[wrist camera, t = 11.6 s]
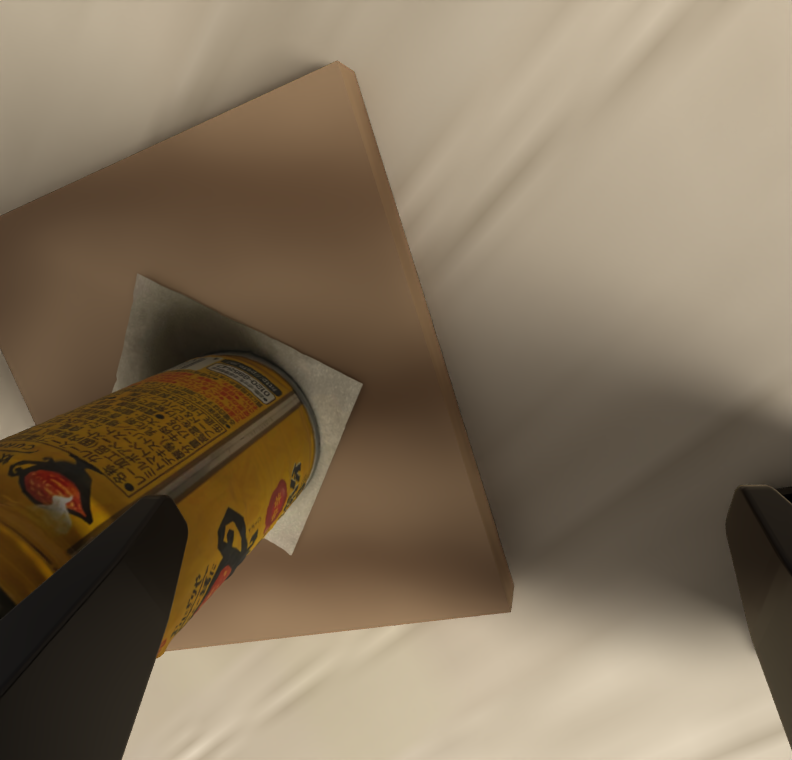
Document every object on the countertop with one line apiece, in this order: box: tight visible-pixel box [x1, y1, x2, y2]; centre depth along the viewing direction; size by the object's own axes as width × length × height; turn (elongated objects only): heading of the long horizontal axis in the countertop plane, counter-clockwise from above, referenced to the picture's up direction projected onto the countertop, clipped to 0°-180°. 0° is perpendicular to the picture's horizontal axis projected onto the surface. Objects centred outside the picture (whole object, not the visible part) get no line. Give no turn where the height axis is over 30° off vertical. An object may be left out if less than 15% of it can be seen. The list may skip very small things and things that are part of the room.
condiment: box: [0, 273, 363, 658], centre depth 15 cm, size 7×8×12 cm
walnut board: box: [0, 61, 514, 651], centre depth 22 cm, size 18×16×2 cm
